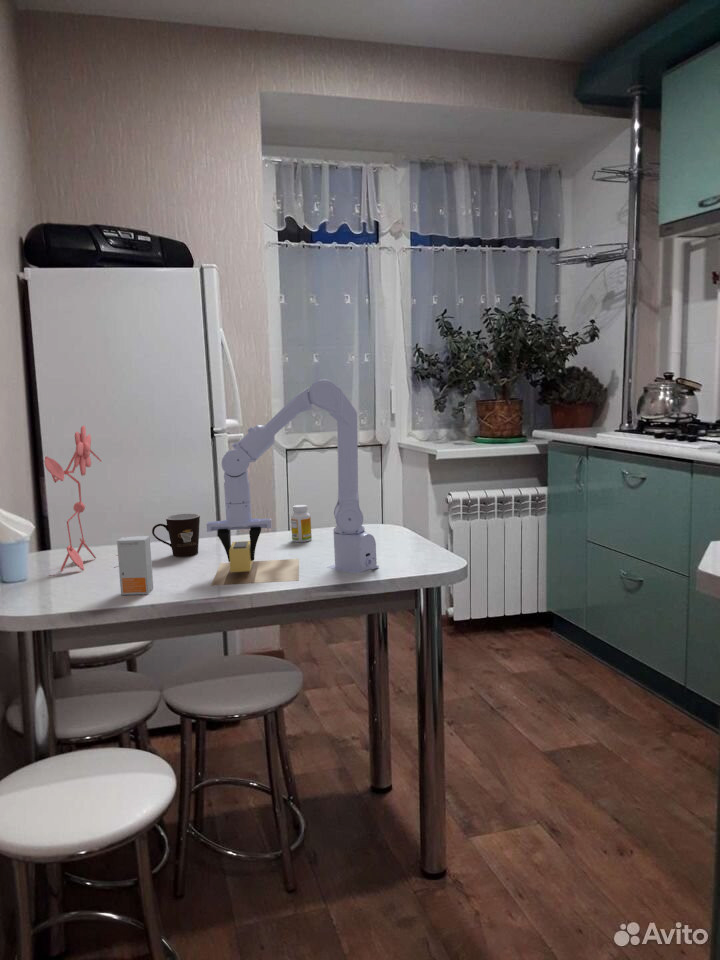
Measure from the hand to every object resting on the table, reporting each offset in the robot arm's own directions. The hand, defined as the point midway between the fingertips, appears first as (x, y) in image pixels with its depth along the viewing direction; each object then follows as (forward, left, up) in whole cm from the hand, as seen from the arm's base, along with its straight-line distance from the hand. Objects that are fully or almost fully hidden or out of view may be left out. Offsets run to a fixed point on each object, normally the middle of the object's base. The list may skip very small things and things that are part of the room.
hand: (241, 560), depth 174 cm
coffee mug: (+30, -5, -4) cm, 31 cm away
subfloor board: (-2, -2, -3) cm, 5 cm away
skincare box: (+8, +22, -4) cm, 24 cm away
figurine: (+40, +14, -4) cm, 42 cm away
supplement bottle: (+14, -34, -4) cm, 37 cm away
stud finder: (0, 0, -2) cm, 2 cm away
